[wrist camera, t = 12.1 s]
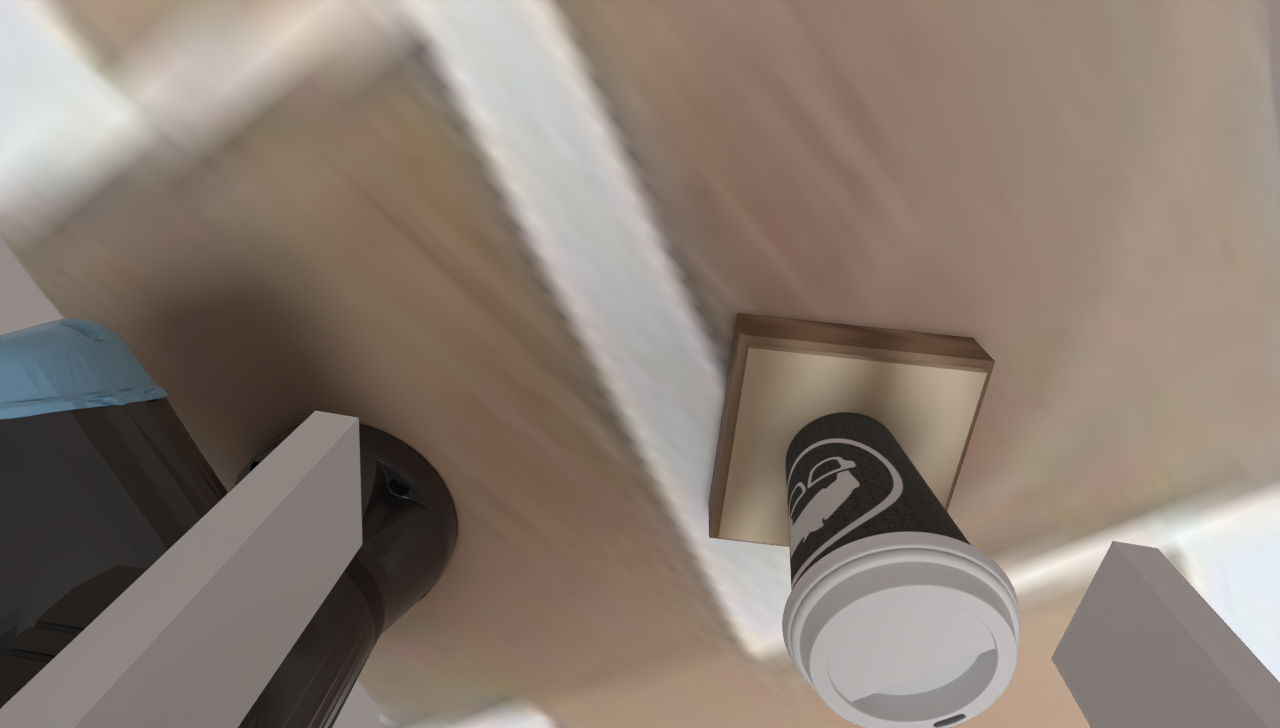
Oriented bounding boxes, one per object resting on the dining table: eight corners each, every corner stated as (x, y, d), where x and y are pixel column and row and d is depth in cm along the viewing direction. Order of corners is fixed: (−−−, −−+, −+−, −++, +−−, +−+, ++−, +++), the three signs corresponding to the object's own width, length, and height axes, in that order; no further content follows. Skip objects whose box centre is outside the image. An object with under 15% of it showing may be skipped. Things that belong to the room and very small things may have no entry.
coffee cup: (769, 536, 44) (801, 755, 30) (748, 400, 40) (774, 581, 27) (929, 518, 43) (1037, 740, 29) (923, 376, 39) (1043, 554, 25)
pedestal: (708, 505, 48) (709, 543, 45) (737, 313, 42) (740, 338, 39) (915, 529, 48) (933, 569, 44) (973, 338, 42) (999, 365, 38)
